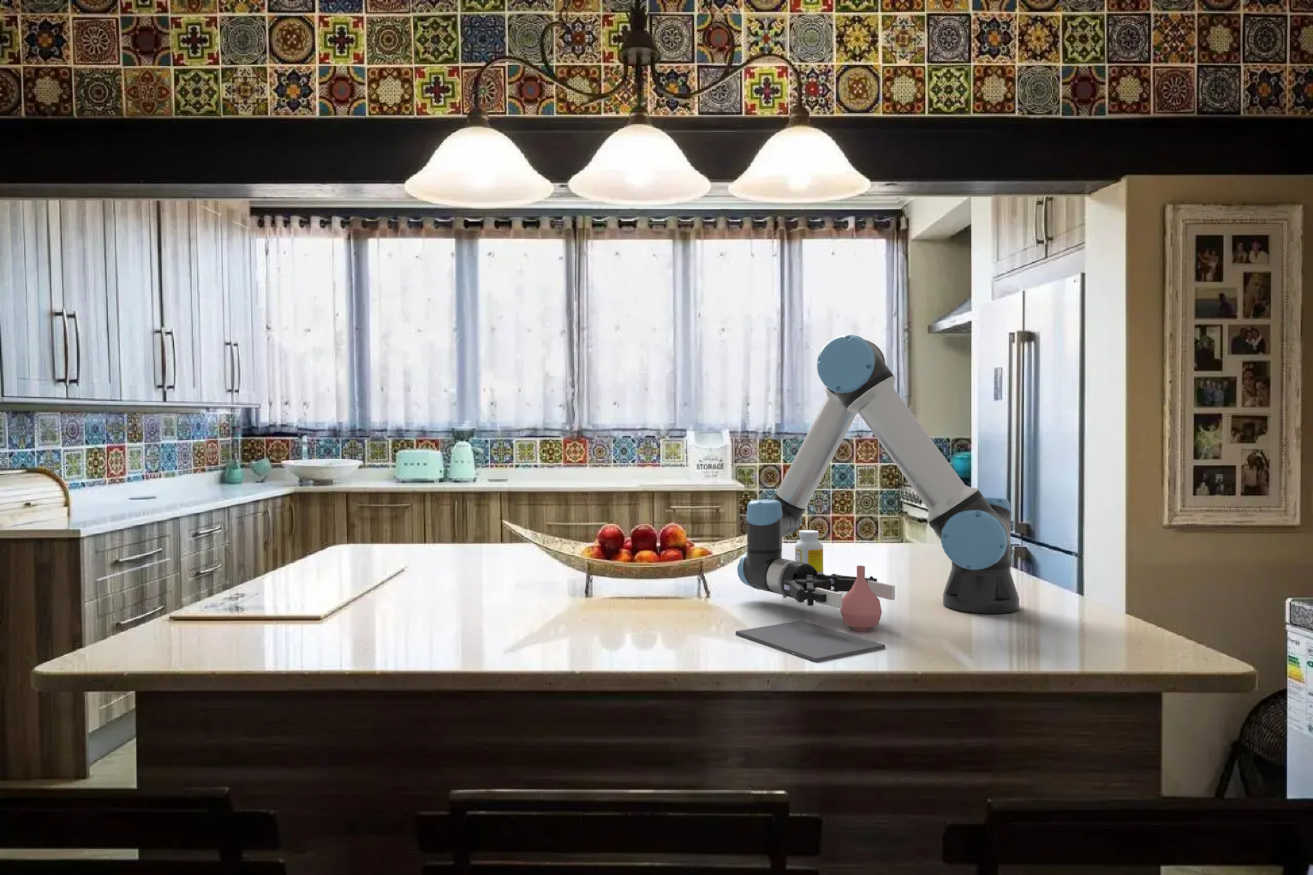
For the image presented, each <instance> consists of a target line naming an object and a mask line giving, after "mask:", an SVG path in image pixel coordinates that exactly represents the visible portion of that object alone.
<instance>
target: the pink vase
mask: <svg viewBox="0 0 1313 875" xmlns="http://www.w3.org/2000/svg"><path fill="white" fill-rule="evenodd" d="M856 577H857V579H856V581H855V582H854V584H853V586H852V588H851V590H850V591H849V592H847V593H846V594H845V595H844V596H842V608H840V609H839V611H840V615H841V618H842V621H843V624H845V625H848V626H850V627H851V628H853V629H854V630H855V631H861V632H862V631H867V630H868V629H869V628H871V627H875V626H877V625H879V623H880V619H881V616H882V607H881V601H880V599H879V597H877V596H876V595H875V594H874V593H873V592H872V591H871V590H870V588H869V586H868V584H867V582H866V580H865V578H866V566H865V565H856Z"/></svg>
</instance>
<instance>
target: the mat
mask: <svg viewBox="0 0 1313 875" xmlns="http://www.w3.org/2000/svg"><path fill="white" fill-rule="evenodd" d="M735 635H736V636H738V637H742V636H744V637H746V638H745V639H747V638H748V640H750V639H751V641H753V640H755V641H754V642H756V641H757V643H760V644H762V645H765V644H766V645H765V646H768V645H769V647H771V648H774V649H776V648H778V649H777V650H779V649H780V651H782V650H783V651H782V652H785V653H788V654H791V653H794V654H796V655H795V656H797V655H798V656H797V657H800V656H801V657H800V658H803V657H805V658H807V659H806V660H808V659H809V661H811V660H812V662H814V661H815V662H814V663H817V661H818V662H823V661H827V660H832V659H837V658H842V657H848V656H854V655H858V654H863V653H868V652H873V651H878V650H883V649H886V644H884V643H881V642H877V641H873V640H870V639H867V638H863V637H860V636H857V635H853V634H849V633H846V632H843V631H839V630H836V629H832V628H830V627H827V626H826V627H825V626H822V625H819V624H815V623H813V622H808V621H805V620H802V619H800V620H795V621H791V622H790V621H789V622H783V623H778V624H771V625H766V626H759V627H758V626H757V627H754V628H747V629H741V630H736V631H735ZM744 637H743V638H744ZM794 654H793V655H794ZM805 658H804V659H805Z"/></svg>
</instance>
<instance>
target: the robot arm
mask: <svg viewBox="0 0 1313 875" xmlns="http://www.w3.org/2000/svg"><path fill="white" fill-rule="evenodd" d="M885 358H886V357H885V356H884V353H883V352H882V350H881V349H880V347H879V346H878V345H876V343H873V342H872V341H869V340H866V339H865V338H863V337H861V336H858V335H856V334H845V335H843V334H842V335H839V336H837V337H835V338H834V337H833V338H832V339H830V340H829V341H827V342H826V343H825V344H824V346H823V347H822V348H821V349H820V351H819V354H818V356H817V361H816V362H817V363H816V368H817V374H818V376H819V379H820V381H821V382H822V384H823V385H824V386H825V387H826V388H825V393H826V398H825V400H824V402H823V403H822V405H821V407H820V408H819V411H818V413H817V414H816V417H815V418H814V421H813V423H812V424H811V426H810V428H809V430H808V432H807V434H806V436H805V437H804V439H803V442H802V444H801V445H800V447H799V448H798V451H797V453H796V455H795V456H794V458H793V460H792V462H791V464H790V466H789V467H788V470H787V472H786V474H785V476H784V478H783V479H782V481H781V483H780V485H779V487H778V489H777V490H776V494H775V495H774V496H773V499H751V500H750V501H748V504H747V505H746V506H747V507H746V508H747V509H746V516H745V518H746V540H747V541H746V543H747V544H746V545H747V546H746V550H747V551H746V553H744V554H743V556H741V557H740V559H739V562H738V564H737V567H736V569H737V570H736V571H737V572H736V573H737V575H738V576H737V577H738V578H739V580H740V581H741V582H742V583H743V585H746V586H748V587H751V588H753V589H754V590H755V589H756V590H758V591H759V590H760V591H765V592H770V593H773V594H777V595H782V598H783V599H787V597H788V598H792V599H794V600H795V601H796V602H798V603H800V604H802V603H805V601H806V603H807V604H806V605H807V606H809V607H813V606H814V605H815V604H820V605H824V606H828V607H832V608H836V609H839V610H840V608H842V598H843V593H842V592H845V593H846V592H847V593H848V592H849V591H850V590H851V588H852V586H853V584H854V582H855V581H856V579H857V576H854V575H853V576H850V575H842V574H837V573H832V574H829V575H828V574H825V573H823V574H818V573H817V571H816V569H815V568H814V567H813V566H812V565H810V564H806V563H801V562H797V561H795V560H792V559H787V558H782V557H783V556H782V555H783V554H782V552H783V538H784V537H787V536H790V535H792V534H795V532H796V531H797V530H798V529H799V528H800V526H801V524H802V520H803V519H802V518H803V515H804V513H805V510H806V508H807V507H808V504H809V503H810V501H811V499H812V497H813V495H814V494H815V492H816V490H817V488H818V487H819V484H820V483H821V481H822V479H823V477H824V475H825V474H826V472H827V469H828V468H829V466H830V464H831V462H832V461H833V458H834V457H835V455H836V453H837V452H838V449H839V448H840V445H841V444H842V442H843V441H844V438H845V436H846V435H847V433H848V431H849V430H850V427H851V425H852V423H853V422H854V420H855V418H856V416H857V414H858V415H860V417H861V418H862V420H863V421H864V423H865V424H866V425H867V427H868V428H869V429H870V431H871V432H872V433H873V435H874V437H875V438H876V439H877V441H878V442H879V443H880V444H881V446H882V448H883V449H884V451H885V452H886V453H887V454H888V457H889V458H891V460H892V461H893V463H894V464H895V465H896V467H897V468H898V470H899V471H900V473H901V474H902V476H904V478H905V480H906V481H907V482H908V484H909V485H910V486H911V488H912V489H913V490H914V492H915V493H916V494H917V495H918V497H919V499H920V500H921V502H922V503H923V505H925V507H926V508H927V510H928V514H927V515H928V516H927V520H926V521H927V522H928V523H927V524H928V525H929V526H930V527H931V528H932V530H933V531H934V532H935V534H936V536H937V537H938V538H939V540H940V543H941V546H942V549H943V552H944V553H945V555H946V556H947V557H948V559H949V560H950V561H951V570H950V572H949V574H948V575H949V576H948V578H947V581H946V584H945V587H944V590H943V594H942V604H943V606H944V607H947V608H949V609H951V610H954V611H961V612H965V613H975V614H1009V613H1014V612H1017V611H1018V610H1019V609H1020V597H1019V593H1018V591H1017V587H1016V584H1015V581H1014V578H1013V576H1012V572H1011V517H1012V515H1013V514H1012V510H1011V503H1010V501H1009V500H1008V499H1007V498H1003V497H1002V498H1001V497H988V496H987V497H984V495H983V494H982V493H981V491H980V490H979V489H978V488H976V487H971V486H968V485H966V484H965V483H964V481H963V480H962V479H961V478H960V476H959V475H958V473H957V472H956V471H955V470H954V468H953V467H952V466H951V464H950V462H949V461H948V460H947V459H946V457H945V456H944V454H943V453H942V452H941V451H940V449H939V448H938V446H937V445H936V444H935V442H934V441H933V439H932V438H931V437H930V435H929V434H928V433H927V431H926V430H925V429H924V428H923V426H922V425H921V423H920V422H919V420H918V419H917V418H916V417H915V415H914V414H913V412H912V411H911V410H910V408H909V407H908V406H907V405H906V403H905V401H904V400H903V399H902V398H901V396H900V395H899V393H898V392H897V391H896V389H895V383H896V376H895V375H894V374H893V372H892V371H891V370H890V369H889V367H888V366H887V364H886V359H885ZM865 580H866V582H867V584H868V586H869V588H870V590H871V591H872V592H873V593H874V594H875V595H876V596H877V598H881V599H887V600H891V601H895V600H896V585H893V584H889V583H884V582H879V581H878V578H875V577H874V576H873V575H870V576H869V577H865ZM832 588H833V589H832ZM814 602H815V604H814Z"/></svg>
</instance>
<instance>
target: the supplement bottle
mask: <svg viewBox="0 0 1313 875" xmlns="http://www.w3.org/2000/svg"><path fill="white" fill-rule="evenodd" d="M819 533H820V532H819V530H813V529H803V530H798V538H799V540H798V541H797V542H796V543H795V545H794V561H797V562H801V563H806V564H810V565H812V566H813V567H814V568H815V569H816V571H817V573H818V574H824V545H823V543H822V542H820V541H819V536H820V534H819Z"/></svg>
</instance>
